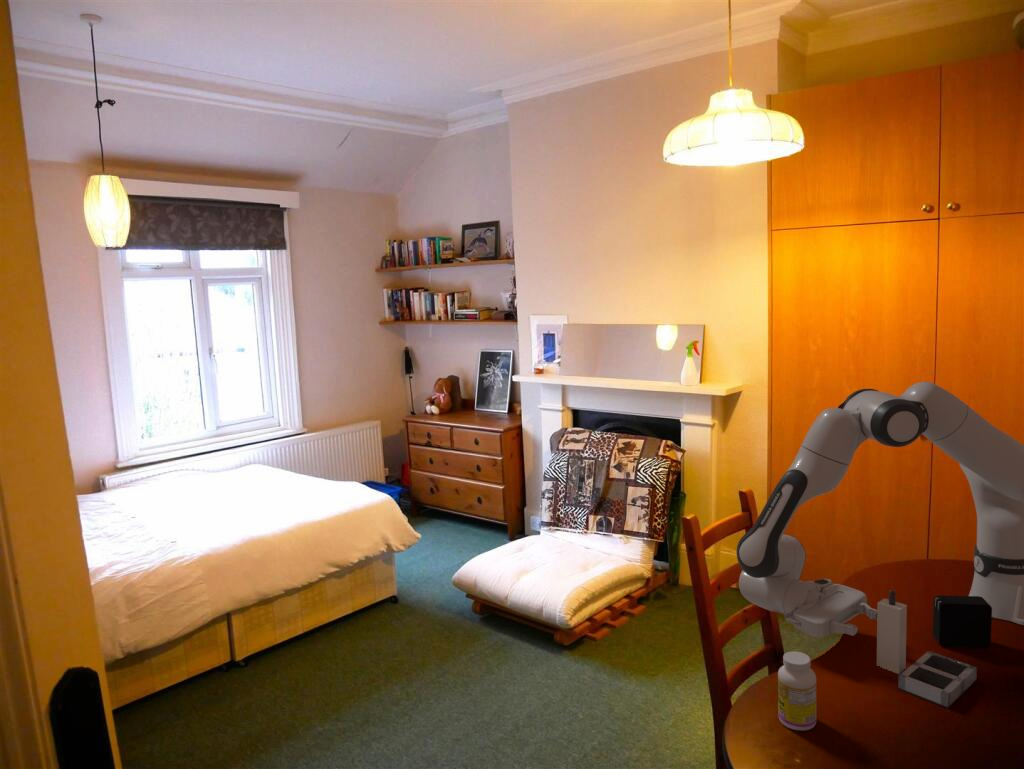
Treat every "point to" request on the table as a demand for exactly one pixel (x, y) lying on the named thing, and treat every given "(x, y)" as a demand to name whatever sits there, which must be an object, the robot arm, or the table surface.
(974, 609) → the electronic device
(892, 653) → the plug
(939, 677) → the socket box
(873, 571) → the table surface
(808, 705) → the supplement bottle
